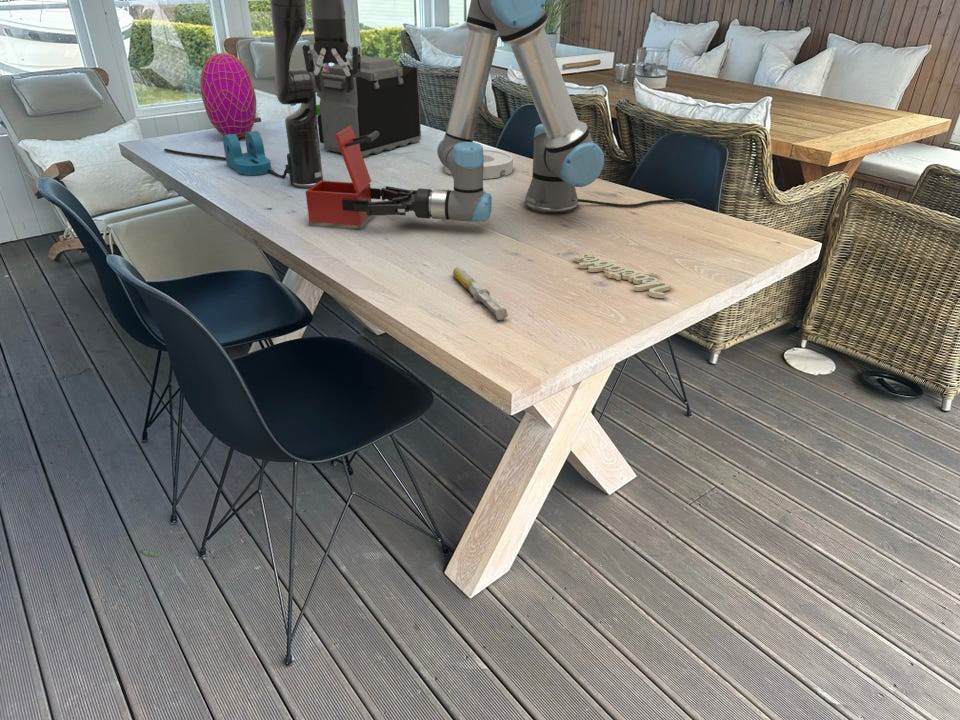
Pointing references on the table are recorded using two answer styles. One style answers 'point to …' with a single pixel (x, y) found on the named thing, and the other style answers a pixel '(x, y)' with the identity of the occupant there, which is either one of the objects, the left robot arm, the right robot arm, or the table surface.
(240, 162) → the camera mount
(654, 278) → the decorative sign
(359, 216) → the chest
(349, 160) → the lid
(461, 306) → the table surface
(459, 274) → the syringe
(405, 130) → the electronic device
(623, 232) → the table surface
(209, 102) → the decorative egg
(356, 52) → the left robot arm
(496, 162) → the ashtray
